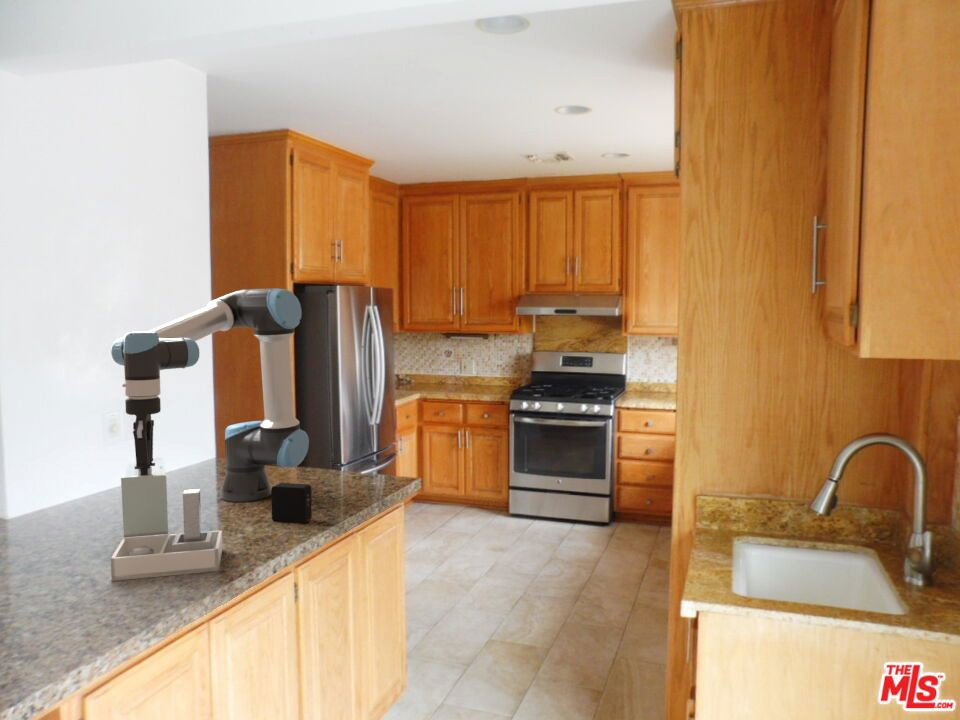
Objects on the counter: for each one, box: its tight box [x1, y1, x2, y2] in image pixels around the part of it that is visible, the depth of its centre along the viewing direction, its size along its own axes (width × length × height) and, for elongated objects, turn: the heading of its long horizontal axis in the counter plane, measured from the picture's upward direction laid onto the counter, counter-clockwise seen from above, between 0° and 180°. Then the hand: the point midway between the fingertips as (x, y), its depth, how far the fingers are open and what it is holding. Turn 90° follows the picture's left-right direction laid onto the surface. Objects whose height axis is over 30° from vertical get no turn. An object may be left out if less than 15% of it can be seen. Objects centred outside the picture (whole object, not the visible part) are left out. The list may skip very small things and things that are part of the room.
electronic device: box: [270, 482, 312, 525], centre depth 198 cm, size 4×10×10 cm, turn 78°
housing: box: [110, 530, 224, 582], centre depth 165 cm, size 14×22×6 cm, turn 106°
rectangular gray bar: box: [182, 488, 202, 542], centre depth 166 cm, size 3×3×16 cm
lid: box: [120, 473, 169, 538], centre depth 169 cm, size 15×10×1 cm
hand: (145, 494), depth 171 cm, fingers closed
